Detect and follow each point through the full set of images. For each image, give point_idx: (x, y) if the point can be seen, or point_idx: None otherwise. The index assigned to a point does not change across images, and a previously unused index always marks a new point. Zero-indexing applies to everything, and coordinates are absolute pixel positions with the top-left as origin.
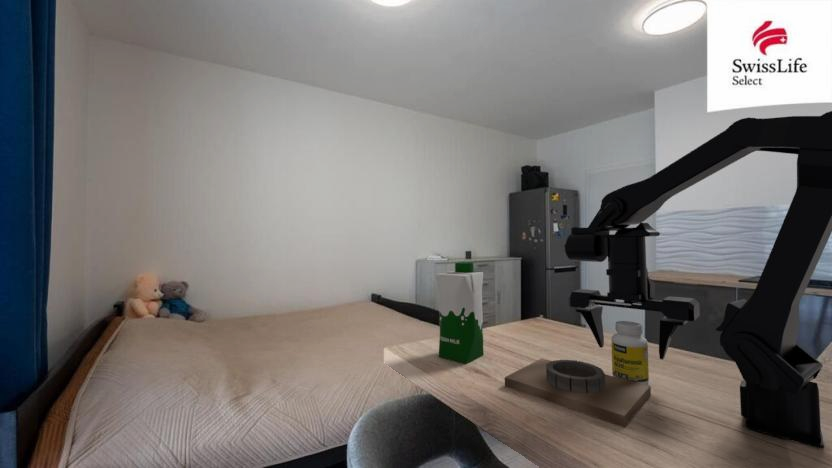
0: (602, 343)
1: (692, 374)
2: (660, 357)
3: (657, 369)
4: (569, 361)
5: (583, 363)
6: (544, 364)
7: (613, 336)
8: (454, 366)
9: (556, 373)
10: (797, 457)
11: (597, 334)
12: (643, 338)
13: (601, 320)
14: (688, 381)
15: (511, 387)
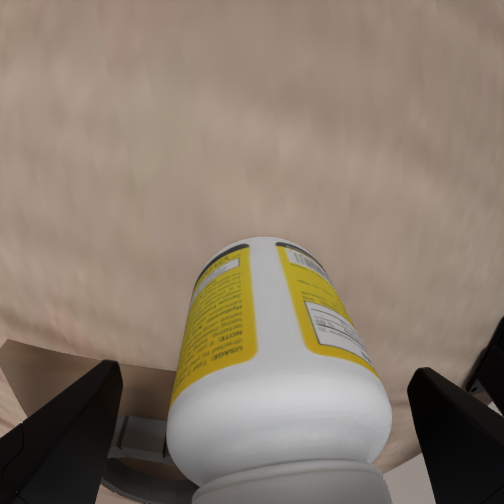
0: (115, 390)
1: (457, 74)
2: (410, 399)
3: (346, 73)
4: (108, 455)
5: (145, 457)
6: (35, 396)
7: (191, 480)
8: None
9: (144, 502)
10: None
11: (100, 468)
12: (374, 457)
13: (34, 488)
14: (447, 170)
15: None
